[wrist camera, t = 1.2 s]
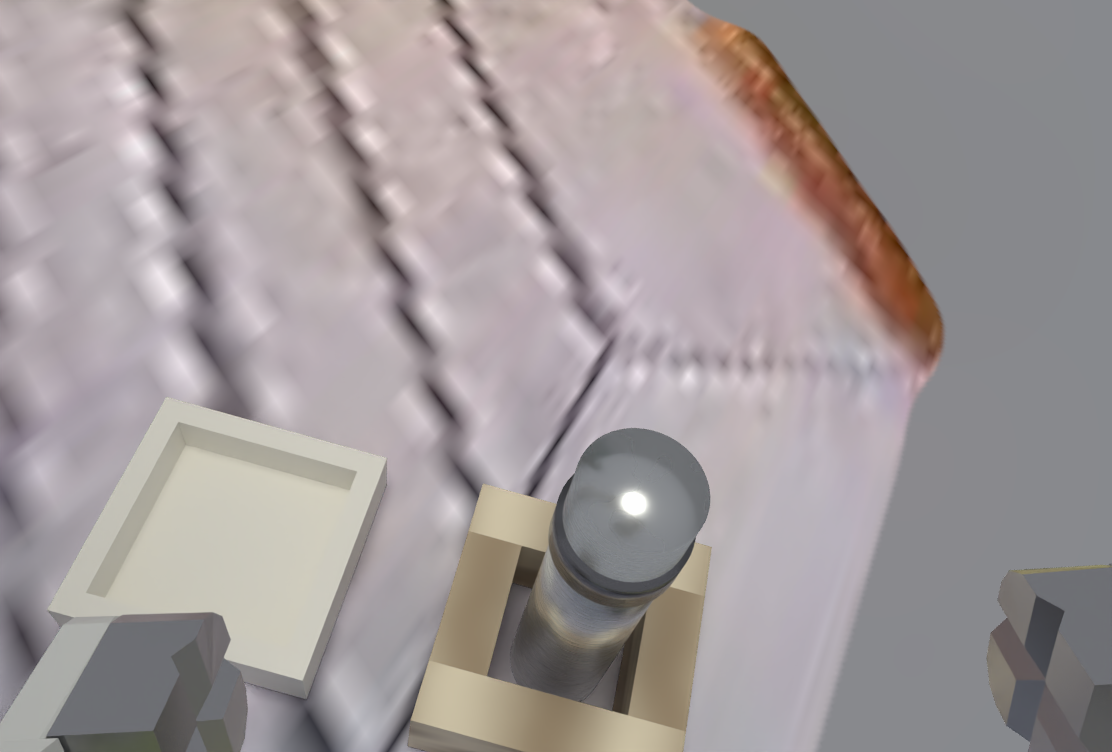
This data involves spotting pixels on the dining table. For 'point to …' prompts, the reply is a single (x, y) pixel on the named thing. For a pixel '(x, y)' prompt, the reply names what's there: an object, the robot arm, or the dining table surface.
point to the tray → (232, 538)
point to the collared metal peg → (608, 557)
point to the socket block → (530, 715)
